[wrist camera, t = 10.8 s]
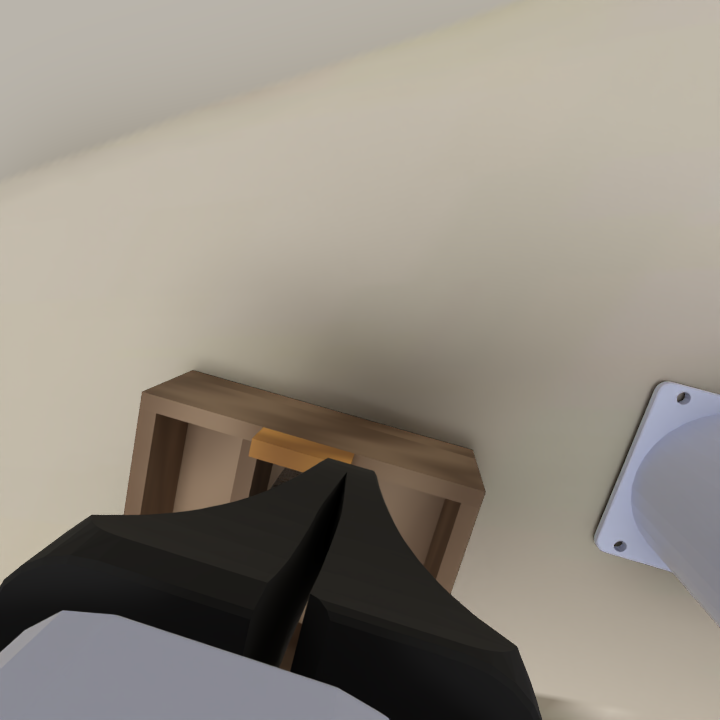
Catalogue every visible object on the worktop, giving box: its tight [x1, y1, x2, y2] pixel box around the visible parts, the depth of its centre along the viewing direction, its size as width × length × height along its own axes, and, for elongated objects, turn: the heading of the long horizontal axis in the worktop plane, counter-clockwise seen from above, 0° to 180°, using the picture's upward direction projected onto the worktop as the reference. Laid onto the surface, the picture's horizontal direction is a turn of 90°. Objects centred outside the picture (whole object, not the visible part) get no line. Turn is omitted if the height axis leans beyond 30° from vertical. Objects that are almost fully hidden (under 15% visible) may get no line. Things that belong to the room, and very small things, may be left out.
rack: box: [124, 370, 485, 672], centre depth 19 cm, size 14×11×5 cm
